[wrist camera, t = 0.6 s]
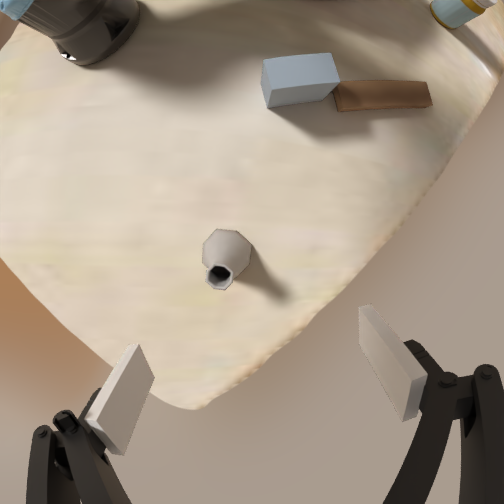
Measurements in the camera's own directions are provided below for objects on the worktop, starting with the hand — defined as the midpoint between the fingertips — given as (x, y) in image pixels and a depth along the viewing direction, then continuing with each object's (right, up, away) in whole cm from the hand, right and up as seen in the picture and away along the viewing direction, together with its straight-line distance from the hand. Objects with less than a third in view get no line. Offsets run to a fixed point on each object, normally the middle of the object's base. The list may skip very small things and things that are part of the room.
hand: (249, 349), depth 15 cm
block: (+20, +29, +19) cm, 40 cm away
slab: (+6, +28, +19) cm, 35 cm away
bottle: (+37, +52, +13) cm, 65 cm away
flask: (-3, +5, +26) cm, 26 cm away
